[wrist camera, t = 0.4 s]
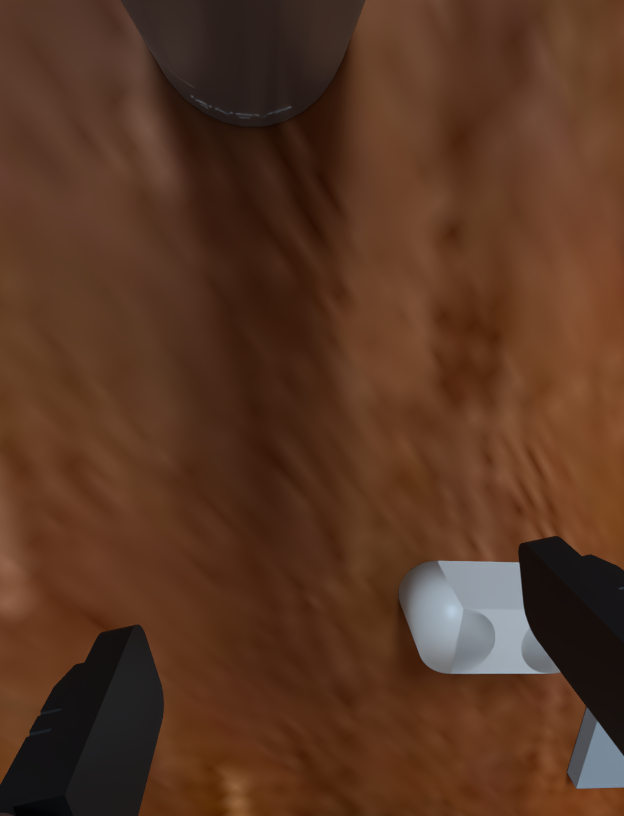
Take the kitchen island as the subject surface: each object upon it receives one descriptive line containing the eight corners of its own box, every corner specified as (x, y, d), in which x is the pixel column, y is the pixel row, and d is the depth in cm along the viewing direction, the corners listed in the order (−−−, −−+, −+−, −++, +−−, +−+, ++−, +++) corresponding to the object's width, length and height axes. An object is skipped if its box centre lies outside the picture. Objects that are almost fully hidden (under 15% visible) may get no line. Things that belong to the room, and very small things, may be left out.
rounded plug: (403, 560, 31) (424, 608, 27) (591, 564, 33) (640, 610, 28) (394, 618, 33) (413, 673, 28) (576, 620, 34) (620, 673, 30)
